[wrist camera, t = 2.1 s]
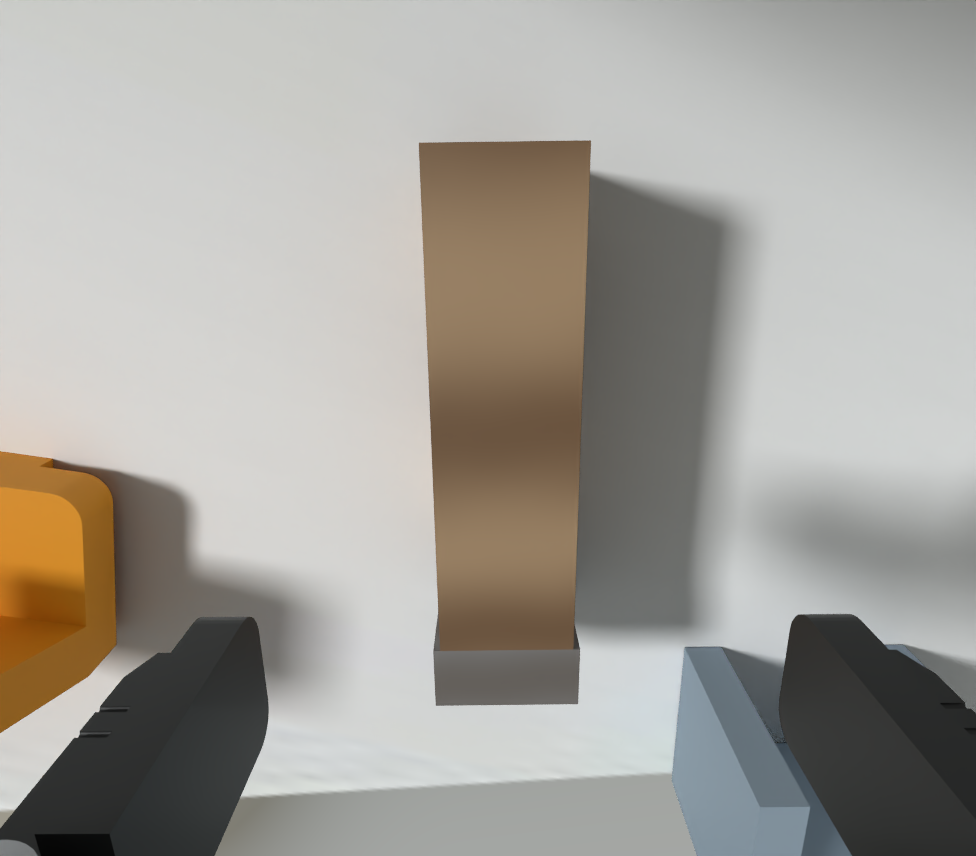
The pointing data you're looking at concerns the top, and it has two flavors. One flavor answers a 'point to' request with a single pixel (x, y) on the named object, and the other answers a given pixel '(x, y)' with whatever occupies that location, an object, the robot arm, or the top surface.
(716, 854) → the grey u-channel
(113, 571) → the bracket
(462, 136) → the top surface
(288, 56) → the top surface
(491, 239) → the rail
